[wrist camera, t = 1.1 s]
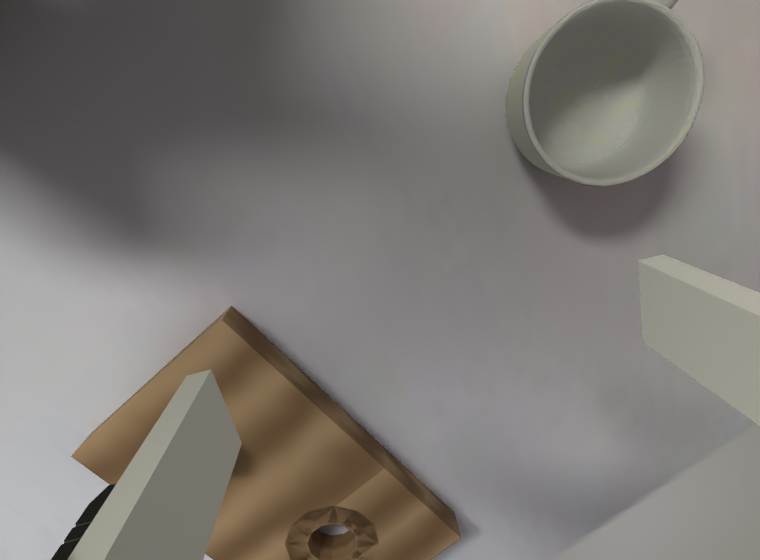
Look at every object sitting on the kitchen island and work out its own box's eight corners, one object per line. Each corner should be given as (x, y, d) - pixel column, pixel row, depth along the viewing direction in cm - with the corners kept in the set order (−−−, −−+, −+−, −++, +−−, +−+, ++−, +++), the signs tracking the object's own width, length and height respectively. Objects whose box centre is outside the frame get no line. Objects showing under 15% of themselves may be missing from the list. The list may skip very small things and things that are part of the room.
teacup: (562, 202, 37) (616, 220, 30) (460, 119, 35) (490, 114, 27) (688, 50, 34) (783, 27, 27) (585, -52, 32) (658, -111, 24)
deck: (90, 434, 41) (70, 456, 38) (231, 306, 38) (221, 319, 35) (322, 608, 49) (321, 637, 46) (454, 512, 46) (461, 537, 43)
